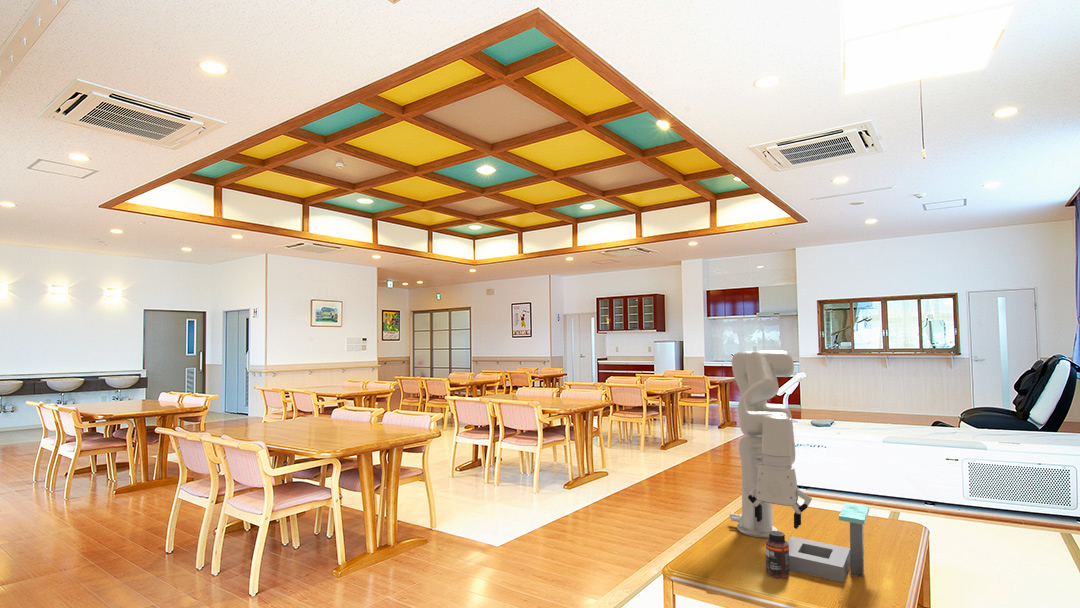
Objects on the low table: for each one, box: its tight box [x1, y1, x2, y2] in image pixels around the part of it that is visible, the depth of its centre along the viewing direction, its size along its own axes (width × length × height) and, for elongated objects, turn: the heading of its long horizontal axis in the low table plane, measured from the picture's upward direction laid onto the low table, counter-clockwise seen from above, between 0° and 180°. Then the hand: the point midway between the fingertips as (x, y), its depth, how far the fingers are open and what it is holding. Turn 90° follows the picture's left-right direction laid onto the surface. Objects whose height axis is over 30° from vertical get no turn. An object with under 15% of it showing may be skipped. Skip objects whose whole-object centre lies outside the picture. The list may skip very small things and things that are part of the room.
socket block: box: [786, 536, 850, 583], centre depth 164 cm, size 16×16×4 cm
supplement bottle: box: [765, 530, 790, 579], centre depth 157 cm, size 6×6×11 cm
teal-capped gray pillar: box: [838, 502, 870, 578], centre depth 158 cm, size 6×14×17 cm, turn 145°
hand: (777, 523), depth 157 cm, fingers open, 9 cm apart
